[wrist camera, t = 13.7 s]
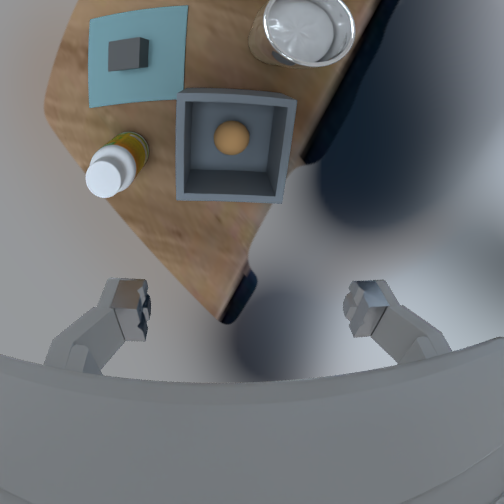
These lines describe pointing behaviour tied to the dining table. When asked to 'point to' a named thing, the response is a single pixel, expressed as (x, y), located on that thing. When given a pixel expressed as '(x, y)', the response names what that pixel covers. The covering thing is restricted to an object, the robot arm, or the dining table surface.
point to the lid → (137, 56)
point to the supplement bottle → (116, 164)
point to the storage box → (240, 165)
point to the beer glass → (302, 33)
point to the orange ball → (231, 137)
